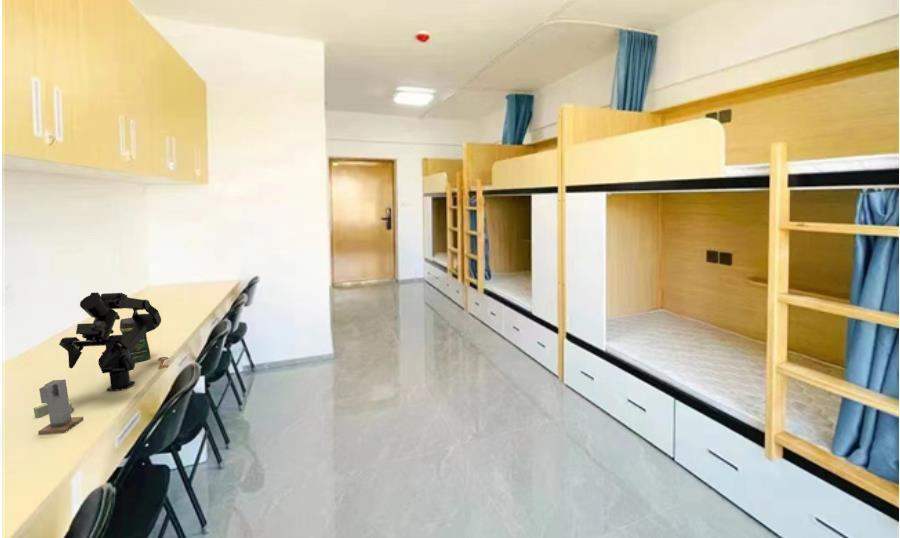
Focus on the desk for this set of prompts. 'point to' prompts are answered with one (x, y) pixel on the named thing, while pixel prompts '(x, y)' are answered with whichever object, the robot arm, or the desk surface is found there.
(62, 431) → the walnut board
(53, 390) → the stepped metal bracket
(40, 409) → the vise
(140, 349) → the coffee jar
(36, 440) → the desk surface
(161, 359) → the key
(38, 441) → the desk surface
